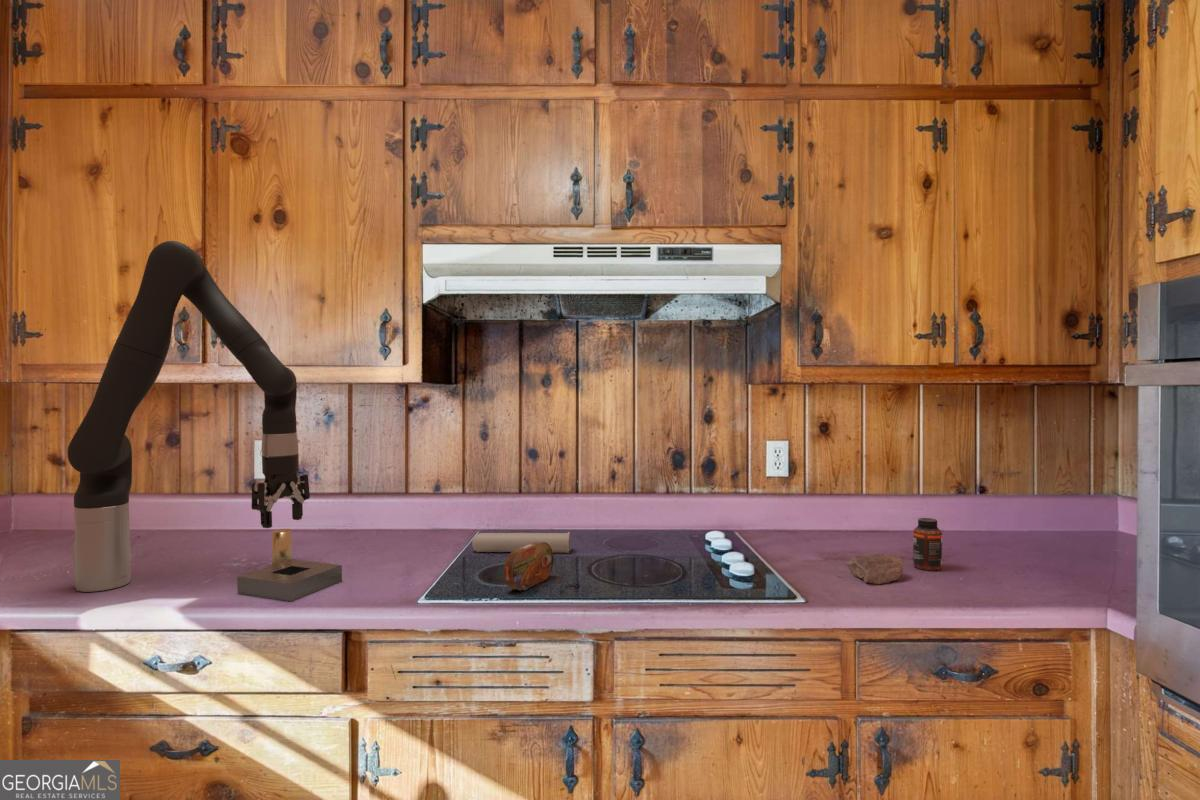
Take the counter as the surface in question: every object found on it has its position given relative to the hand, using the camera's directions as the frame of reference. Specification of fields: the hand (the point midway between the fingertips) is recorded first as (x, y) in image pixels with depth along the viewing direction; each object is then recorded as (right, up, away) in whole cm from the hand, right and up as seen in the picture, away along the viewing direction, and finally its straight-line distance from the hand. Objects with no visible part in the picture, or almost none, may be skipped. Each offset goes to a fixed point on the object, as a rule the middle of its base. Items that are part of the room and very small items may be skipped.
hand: (282, 523), depth 149 cm
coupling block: (+8, -11, -12) cm, 18 cm away
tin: (+58, -11, -11) cm, 60 cm away
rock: (+133, -11, -6) cm, 134 cm away
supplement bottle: (+149, -11, +2) cm, 149 cm away
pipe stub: (0, -11, 0) cm, 11 cm away
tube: (+53, -11, +16) cm, 56 cm away
